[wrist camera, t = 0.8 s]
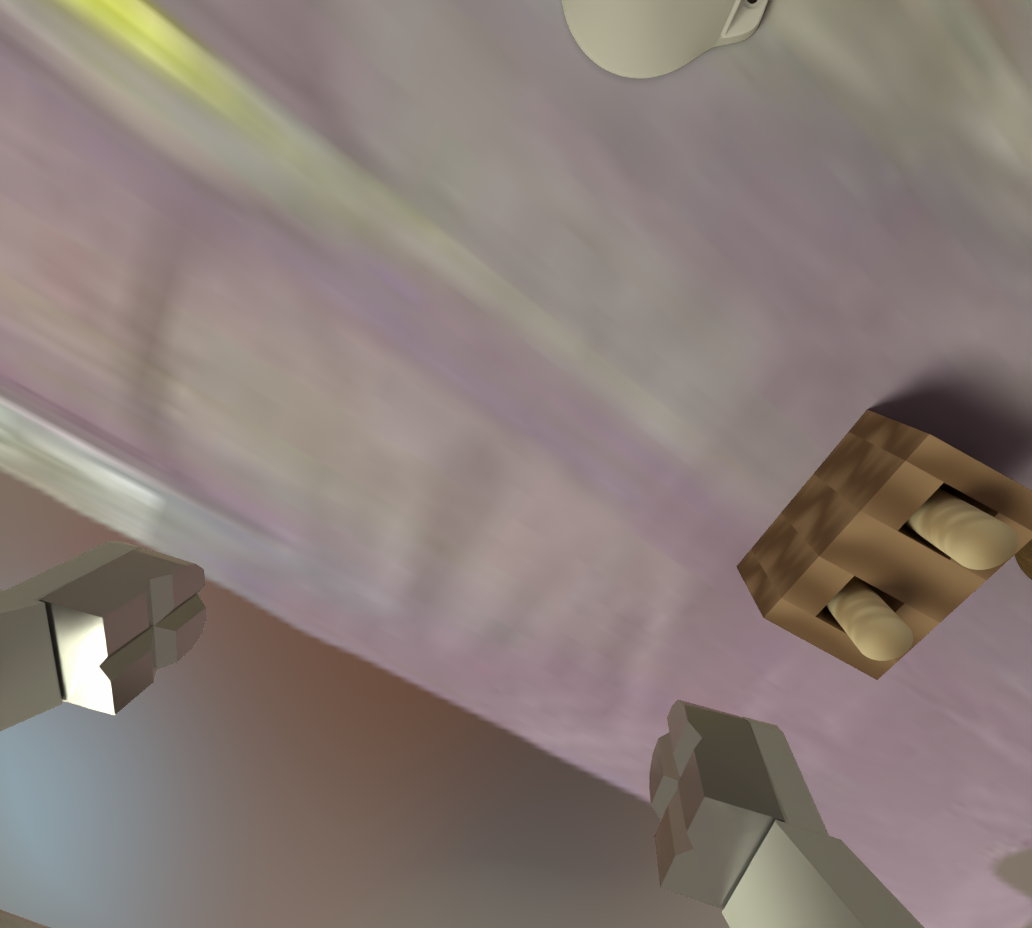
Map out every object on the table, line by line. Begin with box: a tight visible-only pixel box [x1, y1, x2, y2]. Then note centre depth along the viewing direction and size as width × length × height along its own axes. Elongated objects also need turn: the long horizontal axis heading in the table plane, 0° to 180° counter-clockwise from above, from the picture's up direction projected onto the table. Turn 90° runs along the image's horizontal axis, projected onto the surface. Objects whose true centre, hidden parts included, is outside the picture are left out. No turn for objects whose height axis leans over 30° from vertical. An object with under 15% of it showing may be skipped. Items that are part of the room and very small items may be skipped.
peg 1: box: [826, 576, 913, 661], centre depth 42 cm, size 4×4×8 cm
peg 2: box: [905, 488, 1018, 570], centre depth 38 cm, size 4×4×8 cm
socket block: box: [737, 410, 1032, 680], centre depth 44 cm, size 20×12×9 cm, turn 153°
